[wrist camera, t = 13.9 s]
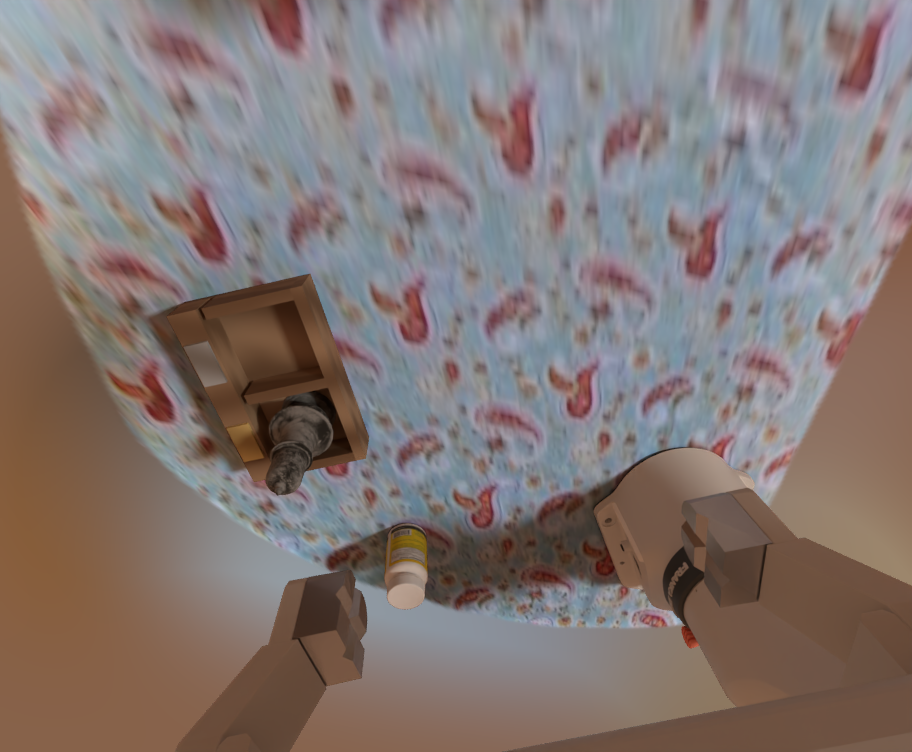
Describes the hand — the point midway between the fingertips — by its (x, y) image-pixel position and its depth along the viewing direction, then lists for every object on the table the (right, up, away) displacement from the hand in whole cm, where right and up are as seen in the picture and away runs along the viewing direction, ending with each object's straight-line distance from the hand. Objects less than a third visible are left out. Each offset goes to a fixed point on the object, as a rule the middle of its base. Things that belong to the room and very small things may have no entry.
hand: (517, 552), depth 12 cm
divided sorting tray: (-18, +4, +35) cm, 40 cm away
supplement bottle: (-7, -15, +46) cm, 49 cm away
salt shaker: (-16, +1, +37) cm, 40 cm away
